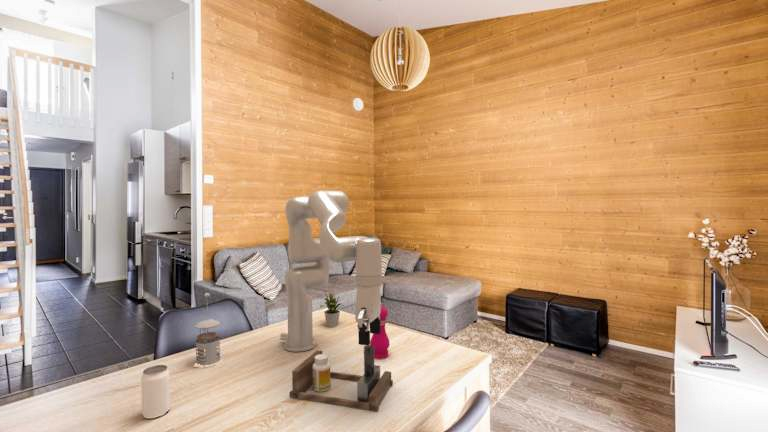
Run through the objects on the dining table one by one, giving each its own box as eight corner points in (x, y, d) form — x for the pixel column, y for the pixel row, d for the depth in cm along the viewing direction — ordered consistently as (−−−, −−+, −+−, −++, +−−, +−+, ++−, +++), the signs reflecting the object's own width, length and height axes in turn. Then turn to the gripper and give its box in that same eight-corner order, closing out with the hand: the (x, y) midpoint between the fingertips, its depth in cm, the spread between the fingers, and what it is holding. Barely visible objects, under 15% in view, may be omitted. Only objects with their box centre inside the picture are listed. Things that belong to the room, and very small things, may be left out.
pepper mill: (390, 351, 142) (390, 299, 141) (388, 359, 134) (388, 304, 134) (371, 351, 142) (371, 299, 142) (368, 359, 135) (368, 304, 134)
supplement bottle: (333, 385, 116) (333, 354, 116) (325, 393, 111) (325, 361, 111) (318, 382, 118) (317, 352, 118) (309, 390, 113) (309, 358, 112)
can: (150, 407, 104) (149, 364, 104) (174, 405, 105) (173, 363, 104) (137, 420, 98) (135, 375, 97) (162, 419, 98) (161, 374, 98)
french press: (197, 371, 126) (195, 297, 125) (188, 360, 135) (186, 291, 134) (227, 362, 133) (225, 293, 132) (216, 352, 142) (215, 287, 141)
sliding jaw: (357, 403, 105) (357, 354, 104) (371, 383, 116) (370, 339, 116) (367, 405, 104) (367, 355, 103) (380, 385, 115) (380, 340, 115)
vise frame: (289, 397, 109) (289, 370, 109) (314, 373, 124) (314, 350, 124) (377, 411, 101) (377, 382, 101) (392, 384, 116) (392, 359, 116)
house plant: (307, 325, 173) (307, 290, 172) (330, 318, 184) (330, 285, 183) (328, 332, 164) (328, 295, 163) (350, 324, 174) (350, 289, 174)
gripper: (366, 274, 118) (367, 328, 118) (345, 286, 101) (346, 348, 102) (389, 275, 116) (390, 330, 116) (371, 287, 99) (372, 351, 100)
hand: (370, 338), depth 109 cm, fingers open, 9 cm apart
